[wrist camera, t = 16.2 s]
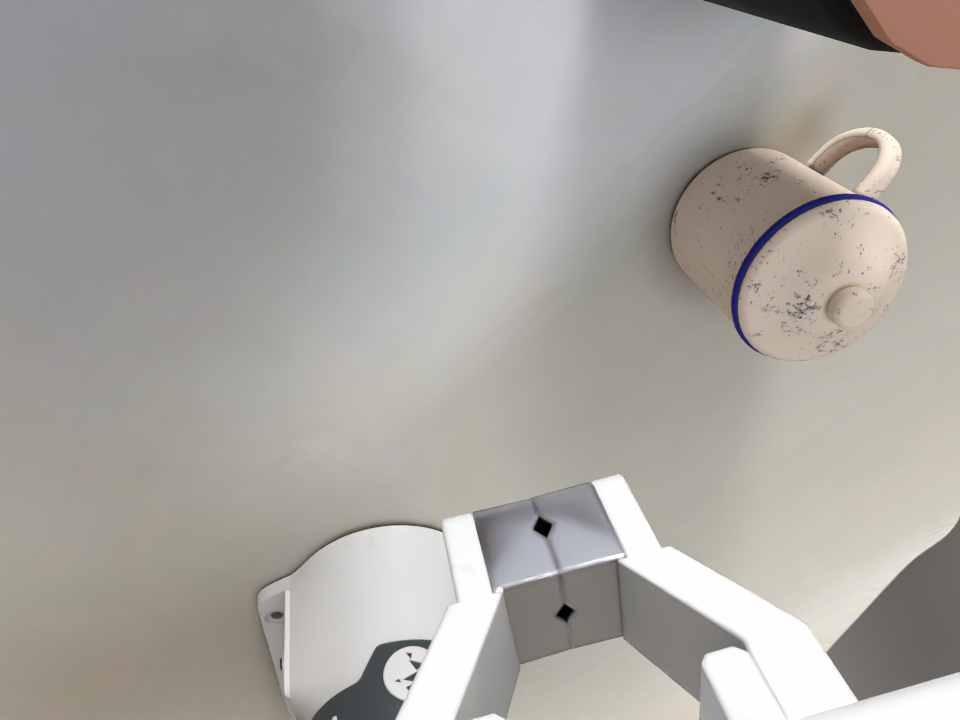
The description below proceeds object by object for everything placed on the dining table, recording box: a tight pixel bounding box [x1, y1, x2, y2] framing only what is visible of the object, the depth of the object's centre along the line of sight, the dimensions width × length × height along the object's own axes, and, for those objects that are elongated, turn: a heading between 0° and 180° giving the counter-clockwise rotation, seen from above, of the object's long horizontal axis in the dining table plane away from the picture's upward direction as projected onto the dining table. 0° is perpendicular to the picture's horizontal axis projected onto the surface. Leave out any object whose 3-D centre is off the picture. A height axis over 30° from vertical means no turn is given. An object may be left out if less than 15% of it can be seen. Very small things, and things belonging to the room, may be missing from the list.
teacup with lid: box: [671, 128, 908, 361], centre depth 38 cm, size 12×9×12 cm
